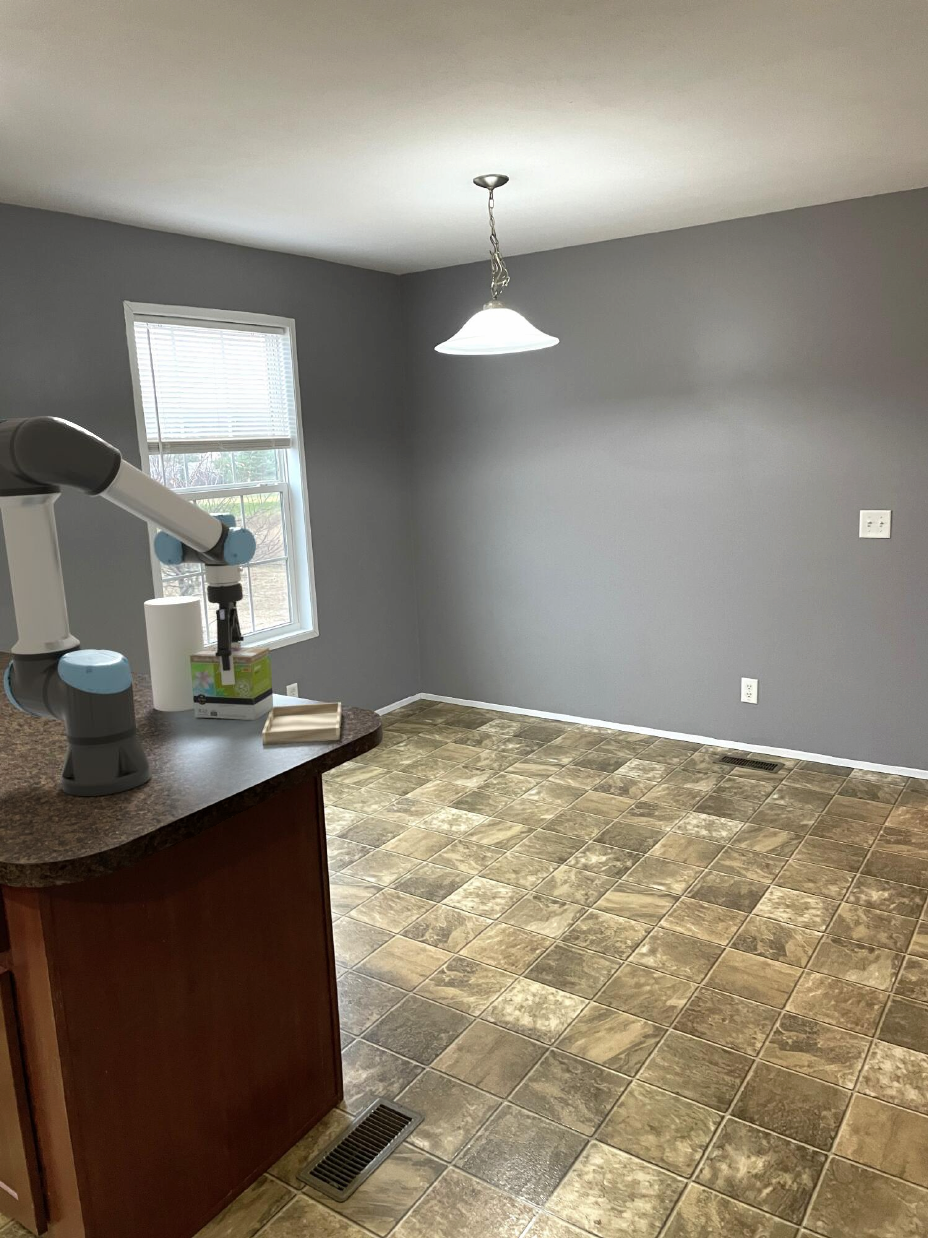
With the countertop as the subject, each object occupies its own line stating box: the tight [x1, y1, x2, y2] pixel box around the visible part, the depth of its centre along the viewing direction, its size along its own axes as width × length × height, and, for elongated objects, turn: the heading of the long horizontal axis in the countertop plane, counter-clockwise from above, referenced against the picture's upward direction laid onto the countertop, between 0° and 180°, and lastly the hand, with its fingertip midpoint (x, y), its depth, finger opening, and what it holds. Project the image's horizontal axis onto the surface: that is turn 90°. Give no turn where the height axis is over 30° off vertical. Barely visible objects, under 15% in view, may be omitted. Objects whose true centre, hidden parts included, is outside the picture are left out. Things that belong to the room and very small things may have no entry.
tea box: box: [190, 645, 274, 722], centre depth 209 cm, size 15×10×15 cm, turn 76°
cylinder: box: [143, 595, 205, 712], centre depth 219 cm, size 12×12×25 cm
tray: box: [261, 701, 343, 746], centre depth 197 cm, size 20×15×2 cm
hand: (233, 677), depth 209 cm, fingers open, 13 cm apart
